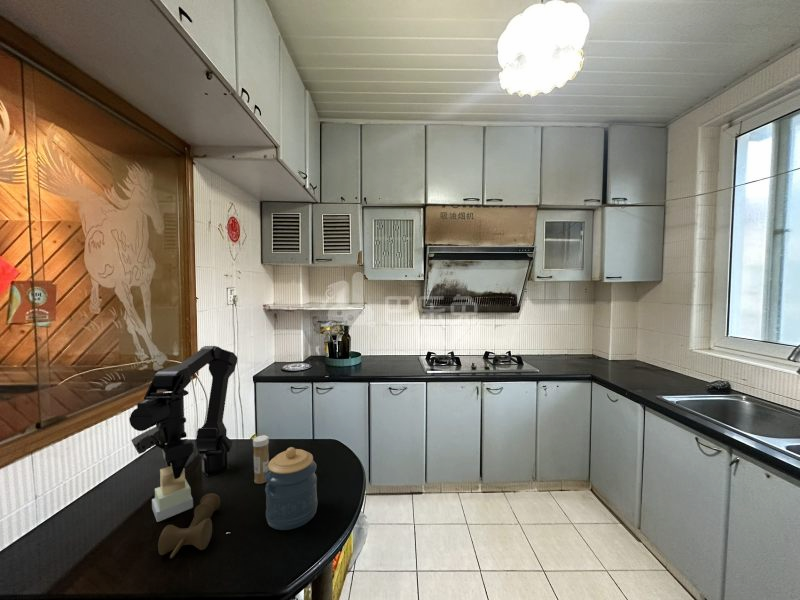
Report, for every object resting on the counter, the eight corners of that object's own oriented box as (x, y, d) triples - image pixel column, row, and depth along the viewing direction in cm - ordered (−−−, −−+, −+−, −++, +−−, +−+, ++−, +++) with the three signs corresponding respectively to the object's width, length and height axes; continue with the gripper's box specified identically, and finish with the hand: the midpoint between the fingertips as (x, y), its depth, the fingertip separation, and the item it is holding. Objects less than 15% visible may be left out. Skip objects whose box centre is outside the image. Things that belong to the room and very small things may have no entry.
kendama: (230, 509, 89) (195, 568, 69) (192, 514, 87) (146, 576, 67) (229, 487, 89) (194, 539, 69) (191, 492, 87) (144, 547, 67)
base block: (186, 496, 95) (185, 486, 95) (193, 509, 89) (192, 498, 89) (152, 510, 89) (151, 499, 89) (157, 524, 83) (156, 512, 83)
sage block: (185, 488, 94) (184, 478, 94) (190, 498, 89) (190, 487, 89) (155, 499, 89) (154, 488, 89) (159, 510, 84) (159, 499, 84)
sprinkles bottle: (271, 481, 101) (270, 438, 101) (255, 486, 98) (254, 442, 98) (268, 474, 105) (266, 433, 104) (252, 479, 102) (251, 437, 102)
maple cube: (182, 480, 93) (181, 462, 93) (185, 487, 89) (184, 469, 89) (160, 487, 89) (159, 469, 89) (162, 495, 86) (162, 476, 86)
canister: (303, 492, 94) (301, 433, 94) (327, 513, 85) (325, 447, 85) (257, 514, 85) (256, 448, 85) (279, 540, 76) (277, 466, 76)
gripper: (129, 415, 90) (131, 471, 90) (139, 434, 77) (141, 500, 77) (177, 405, 98) (178, 456, 98) (193, 421, 84) (195, 480, 85)
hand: (173, 471), depth 89 cm, fingers open, 9 cm apart
